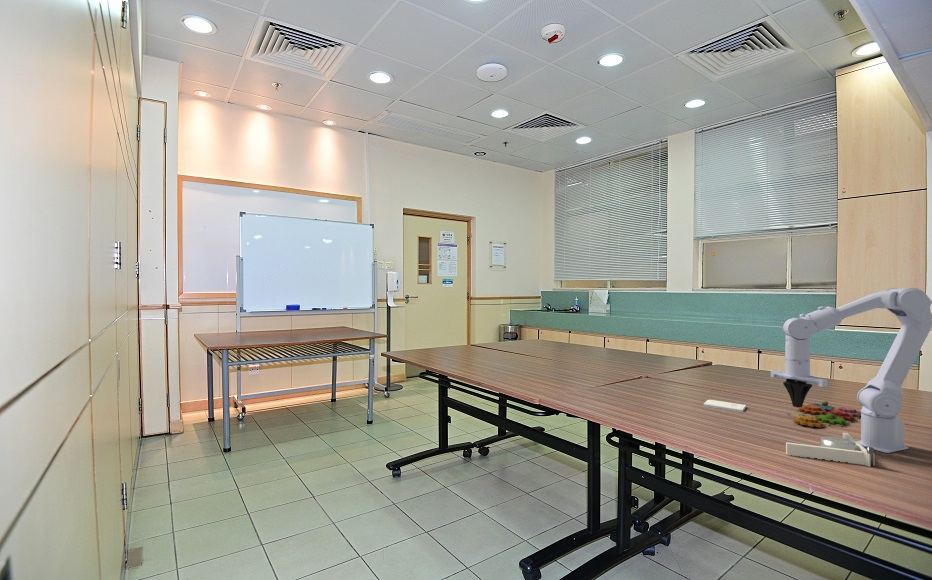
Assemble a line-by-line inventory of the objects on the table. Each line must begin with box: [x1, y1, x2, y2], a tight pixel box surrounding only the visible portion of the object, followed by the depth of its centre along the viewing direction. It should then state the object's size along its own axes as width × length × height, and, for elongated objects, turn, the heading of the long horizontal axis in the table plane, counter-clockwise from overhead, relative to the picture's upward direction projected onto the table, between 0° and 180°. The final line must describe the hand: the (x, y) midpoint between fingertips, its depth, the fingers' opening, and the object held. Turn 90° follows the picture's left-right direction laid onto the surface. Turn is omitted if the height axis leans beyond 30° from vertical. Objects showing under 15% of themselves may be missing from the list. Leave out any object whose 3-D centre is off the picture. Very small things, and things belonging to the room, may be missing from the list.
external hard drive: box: [703, 399, 747, 413], centre depth 164 cm, size 2×8×12 cm
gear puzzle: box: [786, 399, 861, 428], centre depth 149 cm, size 31×16×4 cm, turn 123°
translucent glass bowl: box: [820, 435, 856, 451], centre depth 116 cm, size 7×7×4 cm
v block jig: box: [785, 432, 875, 468], centre depth 115 cm, size 24×13×4 cm, turn 109°
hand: (797, 406), depth 128 cm, fingers closed
